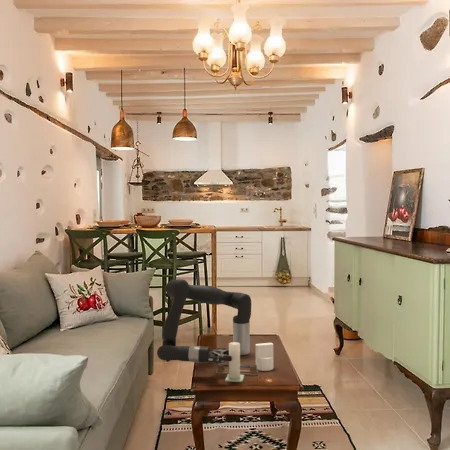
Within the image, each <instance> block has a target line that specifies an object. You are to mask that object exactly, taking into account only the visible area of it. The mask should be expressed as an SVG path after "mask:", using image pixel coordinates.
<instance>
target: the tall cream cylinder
mask: <svg viewBox="0 0 450 450" xmlns="http://www.w3.org/2000/svg"><path fill="white" fill-rule="evenodd" d="M228 350H229V355H228V356H231V357H232V360H231V361H228V364H229V367H228V369H229V378H230V379H239V378H240V370H241V367H240V365H241V355H240V343H238V342H233V341H232V342H228Z"/></svg>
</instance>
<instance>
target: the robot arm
mask: <svg viewBox="0 0 450 450" xmlns="http://www.w3.org/2000/svg"><path fill="white" fill-rule="evenodd" d="M164 290H165V292H166V295H168V296H169V297H170V298H173V300H172V305H171V308H170V310H169V312H168V314H167V316H166V317H165V321H164V323H163V328H162V334H161V338H162V340H163V341H162V345H160V346H159V347H158V348H157V351H156V356H157V357H158V359H160V360H162V361H181V362H189V363H190V362H192V363H199V364H200V363H201V364H209V363H223V362H229V361H231V360H232V357H231V356H229V349H227V348H226V347H222V348H221V347H214V348H213V350H211V347H210V346H208V345H207V346H204V345H202V346H201V345H189V346H188V345H181V346H178V345H177V335H178V330H179V324H180V320H181V316H182V313H183V309H184V307H185V303H186V302H187V299H188V300H192V301H195V302H198V303H202V304H206V305H215V306H218V305H219V306H220V305H223V306H224V305H225V306H227V307H230V308H233V309H236V310H237V313H236V315H234V316H233V317H232V342H238V343H240V356H243V355H246V356H247V355H249V354H250V353H251V352H250V351H251V350H250V349H251V341H250V338H251V337H250V330H251V329H250V320H251V316H252V299H251V296H250V295H249V294H247V293H243V292H240V291H239V292H237V291H236V292H234V291H225V290H222V289H221V288H218V287H215V286H210V285H205V284H204V285H203V284H189V283H188V281H187V280H185V279H184V278H183V279H182V278H181V279H171V280H169V281H168V282H167V283H166V285H165V289H164Z"/></svg>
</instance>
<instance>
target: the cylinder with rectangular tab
mask: <svg viewBox="0 0 450 450" xmlns="http://www.w3.org/2000/svg"><path fill="white" fill-rule="evenodd" d="M254 345H255V352H254V353H255V365H257V371H262V372H268V371H273V370H274V343H272V342H264V343H263V342H261V343H255V344H254Z"/></svg>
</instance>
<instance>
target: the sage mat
mask: <svg viewBox="0 0 450 450" xmlns="http://www.w3.org/2000/svg"><path fill="white" fill-rule="evenodd" d="M244 379H245V375H240V378H239V379H230V378H229V374H226V376H225V380H224V382H234V383H243V382H244Z"/></svg>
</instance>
